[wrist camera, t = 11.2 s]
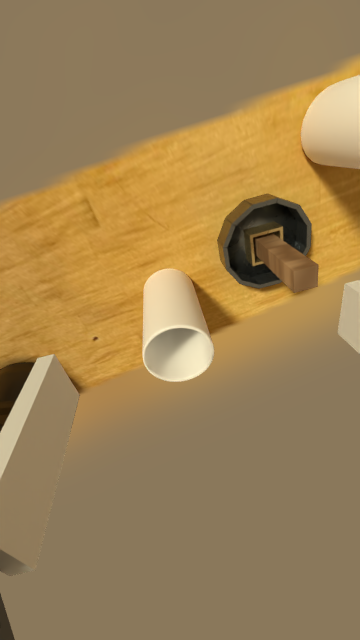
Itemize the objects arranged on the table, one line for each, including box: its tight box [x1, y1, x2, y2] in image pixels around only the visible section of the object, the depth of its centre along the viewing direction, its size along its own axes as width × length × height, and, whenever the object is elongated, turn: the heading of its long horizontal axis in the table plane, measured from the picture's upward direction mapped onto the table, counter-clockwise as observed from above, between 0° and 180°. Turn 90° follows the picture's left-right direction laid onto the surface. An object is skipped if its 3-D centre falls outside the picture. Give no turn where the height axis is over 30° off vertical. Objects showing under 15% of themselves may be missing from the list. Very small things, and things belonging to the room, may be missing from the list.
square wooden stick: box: [253, 233, 318, 293], centre depth 34 cm, size 3×3×14 cm
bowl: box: [217, 194, 311, 288], centre depth 39 cm, size 12×12×4 cm
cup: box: [143, 269, 214, 382], centre depth 37 cm, size 8×8×16 cm
